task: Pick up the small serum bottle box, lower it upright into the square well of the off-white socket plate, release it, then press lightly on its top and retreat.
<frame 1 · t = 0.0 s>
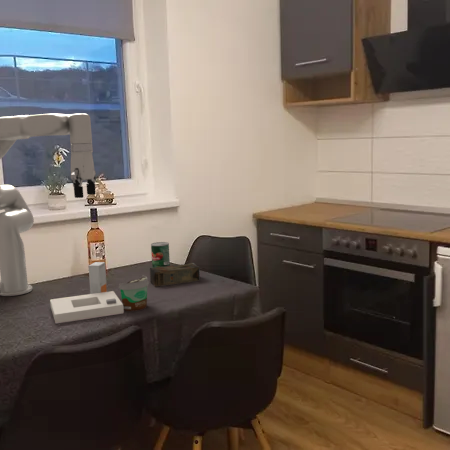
hand: (85, 196, 201), 37 cm above the table, tool pointing down, fingers open, 9 cm apart
socket plate: (86, 310, 188), on the table
olive curved block: (175, 282, 222), on the table
canned tomato: (161, 268, 245), on the table
food container: (139, 308, 189), on the table
skincare box: (99, 295, 206), on the table
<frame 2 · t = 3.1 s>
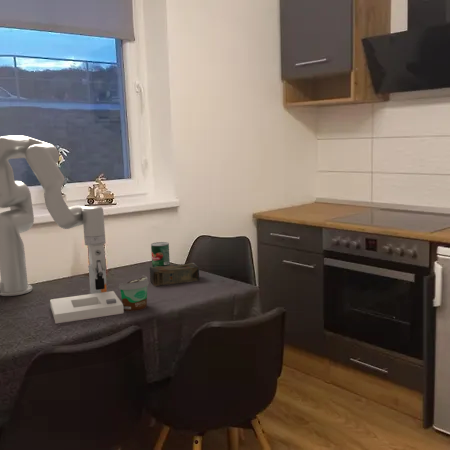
hand: (98, 286, 206), 3 cm above the table, tool pointing down, fingers closed on skincare box, 7 cm apart
skincare box: (99, 295, 206), on the table, touching gripper
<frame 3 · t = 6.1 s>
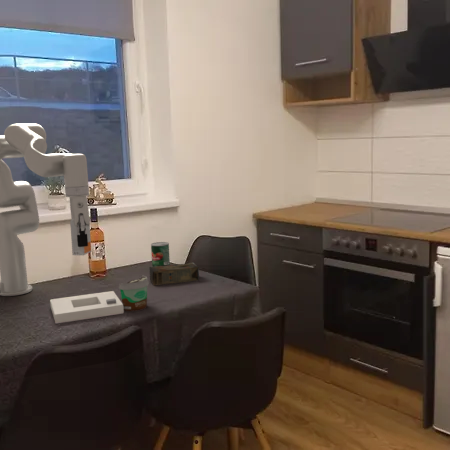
hand: (81, 244, 184), 23 cm above the table, tool pointing down, fingers closed on skincare box, 7 cm apart
skincare box: (82, 254, 185), point 20 cm above the table, touching gripper
when the fingers open (4 cm above the table, at t = 9.2 s): skincare box stays where it is, resting in socket plate.
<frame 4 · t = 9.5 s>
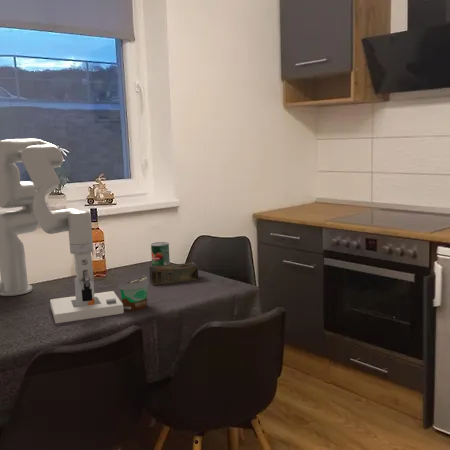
hand: (85, 296, 188), 5 cm above the table, tool pointing down, fingers open, 9 cm apart
skincare box: (86, 310, 189), resting in socket plate
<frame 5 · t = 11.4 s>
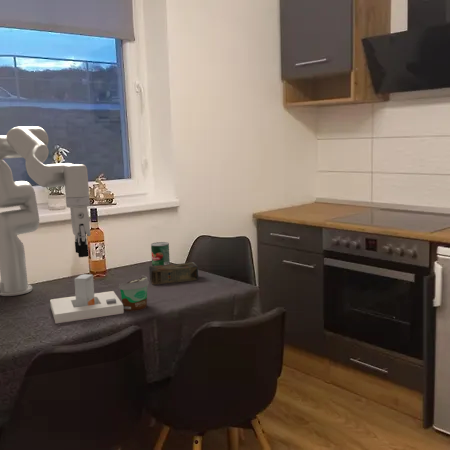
hand: (82, 254, 185), 20 cm above the table, tool pointing down, fingers open, 6 cm apart
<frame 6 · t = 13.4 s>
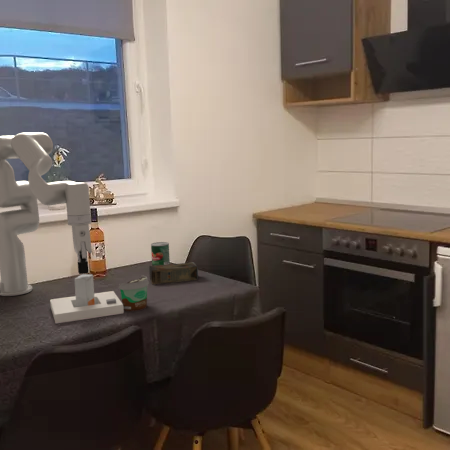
hand: (83, 273, 186), 13 cm above the table, tool pointing down, fingers closed
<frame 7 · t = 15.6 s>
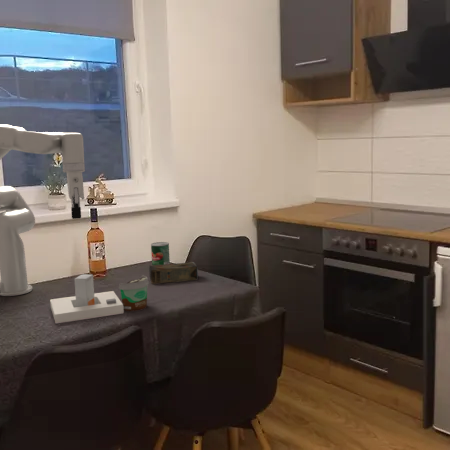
hand: (76, 218, 200), 29 cm above the table, tool pointing down, fingers closed
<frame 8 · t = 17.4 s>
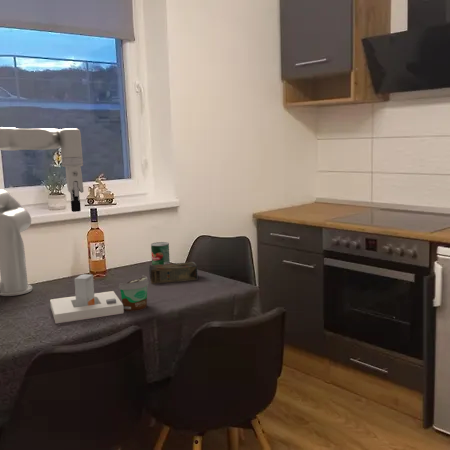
hand: (76, 211, 207), 31 cm above the table, tool pointing down, fingers closed
at the end: skincare box inside the target area on the socket plate (0.3 cm from its centre), point 0.0 cm above the socket plate's base; skincare box tilted 0°; the gripper is holding nothing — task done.
